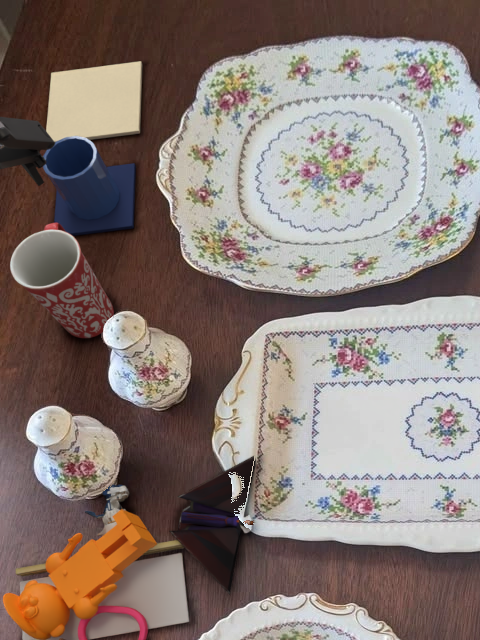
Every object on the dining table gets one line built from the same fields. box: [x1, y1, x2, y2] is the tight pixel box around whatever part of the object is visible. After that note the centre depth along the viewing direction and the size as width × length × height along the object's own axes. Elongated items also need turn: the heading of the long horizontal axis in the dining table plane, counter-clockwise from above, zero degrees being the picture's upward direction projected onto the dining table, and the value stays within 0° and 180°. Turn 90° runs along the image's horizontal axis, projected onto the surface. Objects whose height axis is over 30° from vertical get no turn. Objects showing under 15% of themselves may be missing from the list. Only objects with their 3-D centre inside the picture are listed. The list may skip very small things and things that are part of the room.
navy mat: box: [53, 162, 137, 237], centre depth 120 cm, size 12×12×1 cm
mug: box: [9, 222, 115, 339], centre depth 107 cm, size 13×9×14 cm
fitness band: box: [78, 606, 149, 640], centre depth 94 cm, size 8×6×2 cm
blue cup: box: [42, 136, 120, 220], centre depth 116 cm, size 8×8×9 cm
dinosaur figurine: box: [84, 484, 130, 537], centre depth 99 cm, size 5×4×10 cm
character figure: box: [168, 455, 257, 596], centre depth 98 cm, size 18×3×10 cm
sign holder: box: [14, 539, 190, 640], centre depth 96 cm, size 21×2×10 cm
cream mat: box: [45, 60, 143, 142], centre depth 127 cm, size 15×15×1 cm
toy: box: [2, 508, 158, 640], centre depth 93 cm, size 9×18×8 cm, turn 127°
